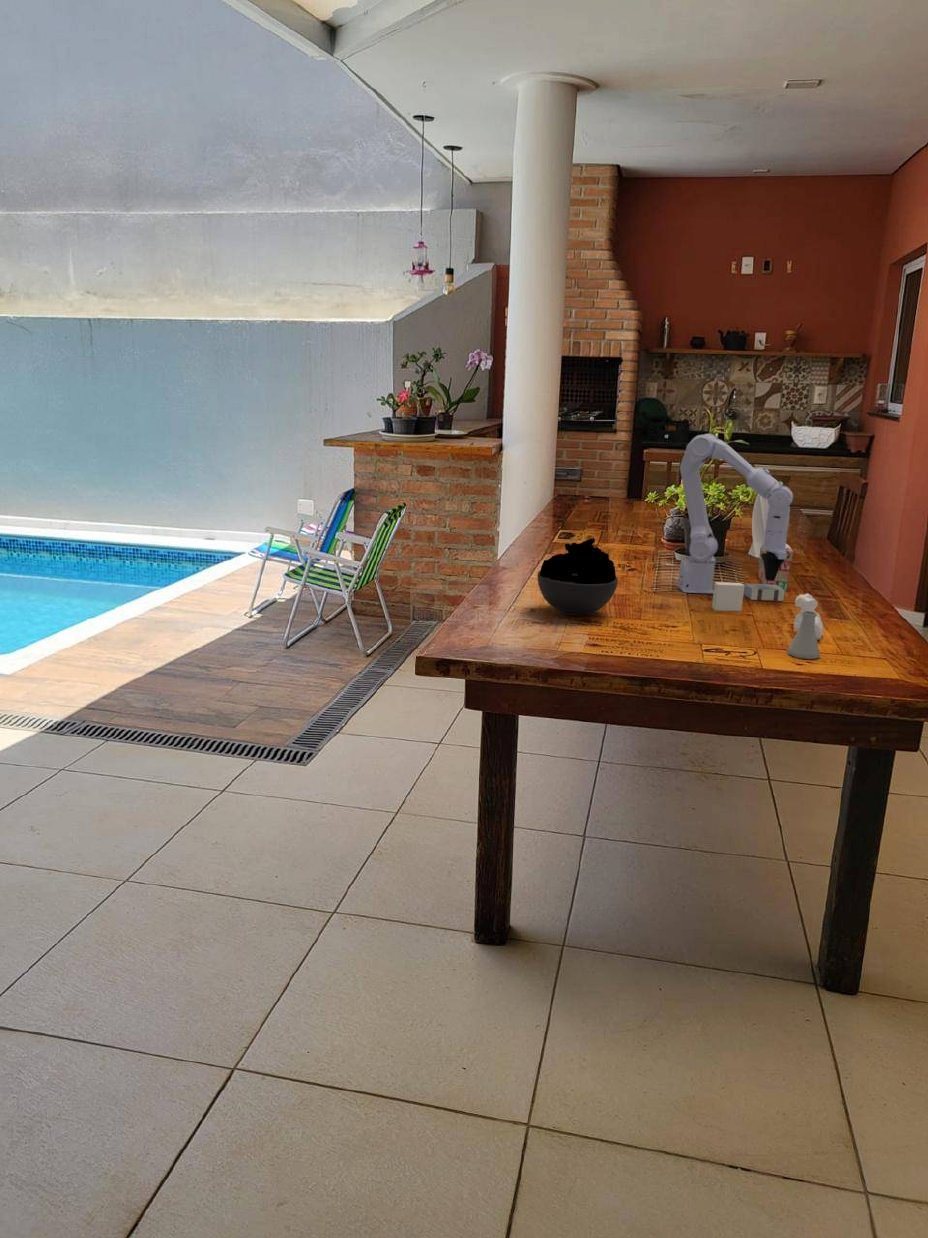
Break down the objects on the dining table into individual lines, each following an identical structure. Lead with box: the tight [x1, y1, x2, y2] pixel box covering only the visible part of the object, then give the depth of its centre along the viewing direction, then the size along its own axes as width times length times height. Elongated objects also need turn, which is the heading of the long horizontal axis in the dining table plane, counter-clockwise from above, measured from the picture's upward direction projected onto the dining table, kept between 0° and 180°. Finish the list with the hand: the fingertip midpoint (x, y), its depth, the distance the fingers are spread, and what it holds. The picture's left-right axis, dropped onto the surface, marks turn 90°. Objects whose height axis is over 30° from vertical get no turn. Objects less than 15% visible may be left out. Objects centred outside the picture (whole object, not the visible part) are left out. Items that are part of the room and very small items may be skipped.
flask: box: [786, 611, 821, 660], centre depth 209 cm, size 7×7×10 cm
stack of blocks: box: [757, 543, 794, 592], centre depth 282 cm, size 21×6×12 cm, turn 170°
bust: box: [793, 593, 825, 640], centre depth 225 cm, size 12×8×11 cm
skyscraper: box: [747, 493, 770, 560], centre depth 322 cm, size 8×8×28 cm
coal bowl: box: [537, 537, 619, 617], centre depth 233 cm, size 20×20×19 cm
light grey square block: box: [711, 581, 745, 612], centre depth 248 cm, size 7×3×7 cm, turn 91°
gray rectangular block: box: [743, 583, 786, 602], centre depth 264 cm, size 9×3×7 cm
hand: (769, 579), depth 259 cm, fingers closed
